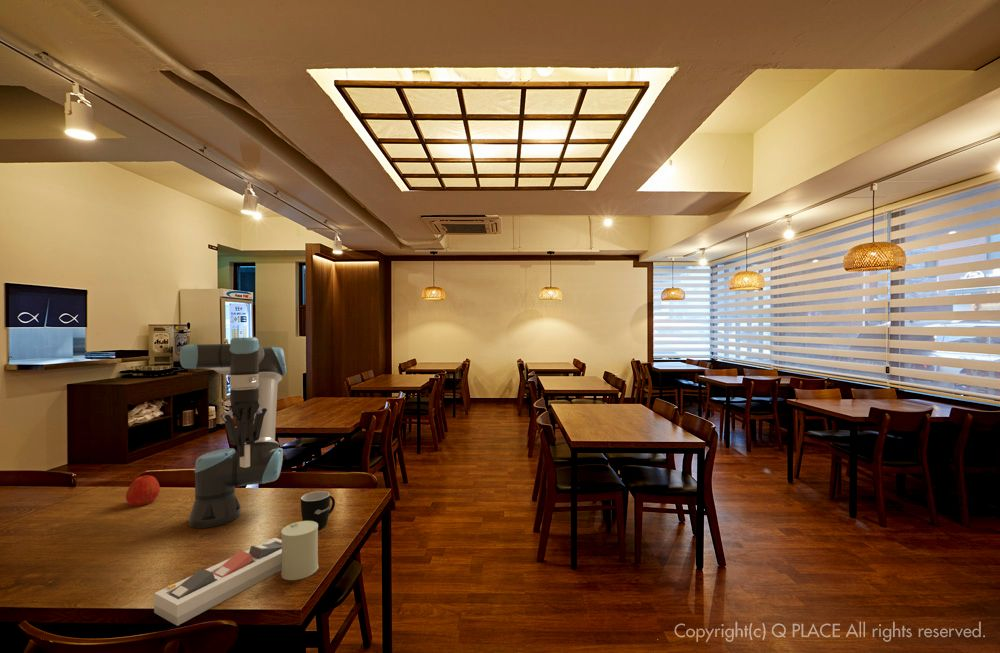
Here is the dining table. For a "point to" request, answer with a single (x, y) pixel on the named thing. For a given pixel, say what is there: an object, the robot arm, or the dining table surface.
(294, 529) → the can
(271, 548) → the rocker
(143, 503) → the apple
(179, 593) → the rocker
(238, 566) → the rocker mid
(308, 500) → the mug
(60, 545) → the dining table surface
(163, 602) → the strip
